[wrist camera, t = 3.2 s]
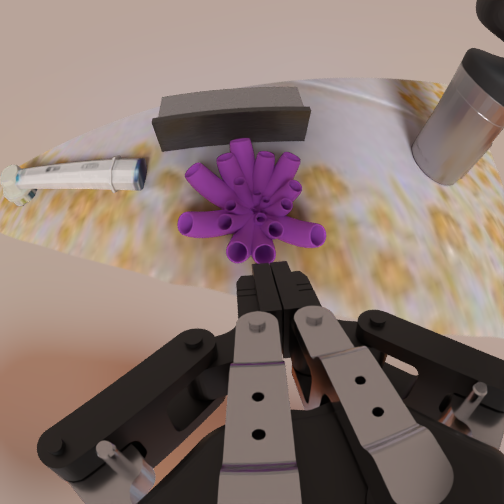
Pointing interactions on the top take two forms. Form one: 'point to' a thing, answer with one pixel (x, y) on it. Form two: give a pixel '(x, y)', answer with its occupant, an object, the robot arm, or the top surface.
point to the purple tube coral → (250, 204)
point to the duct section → (231, 117)
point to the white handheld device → (73, 177)
